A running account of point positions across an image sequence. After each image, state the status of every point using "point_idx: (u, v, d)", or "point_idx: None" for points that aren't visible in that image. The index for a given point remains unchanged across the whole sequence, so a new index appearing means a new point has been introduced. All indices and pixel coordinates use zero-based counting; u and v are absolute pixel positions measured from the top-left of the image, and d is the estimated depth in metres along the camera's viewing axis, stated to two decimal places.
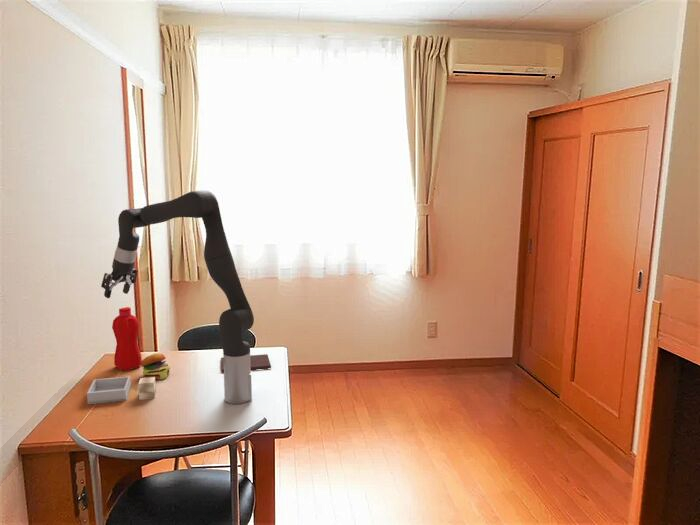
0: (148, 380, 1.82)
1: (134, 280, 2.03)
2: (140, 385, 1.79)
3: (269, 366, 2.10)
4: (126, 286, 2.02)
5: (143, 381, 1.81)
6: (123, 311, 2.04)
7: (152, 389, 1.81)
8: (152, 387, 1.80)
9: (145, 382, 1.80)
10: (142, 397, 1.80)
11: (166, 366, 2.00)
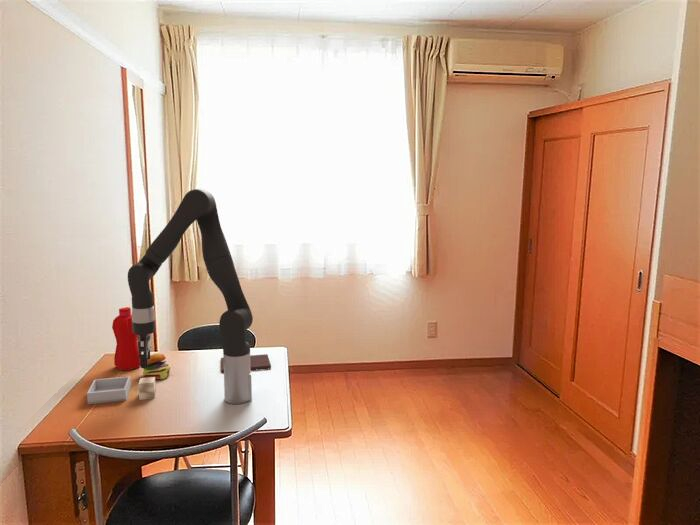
0: (148, 380, 1.82)
1: None
2: (140, 385, 1.79)
3: (269, 366, 2.09)
4: (147, 351, 1.84)
5: (143, 381, 1.81)
6: (123, 311, 2.04)
7: (152, 389, 1.81)
8: (152, 387, 1.80)
9: (145, 382, 1.80)
10: (142, 397, 1.80)
11: (166, 366, 2.00)
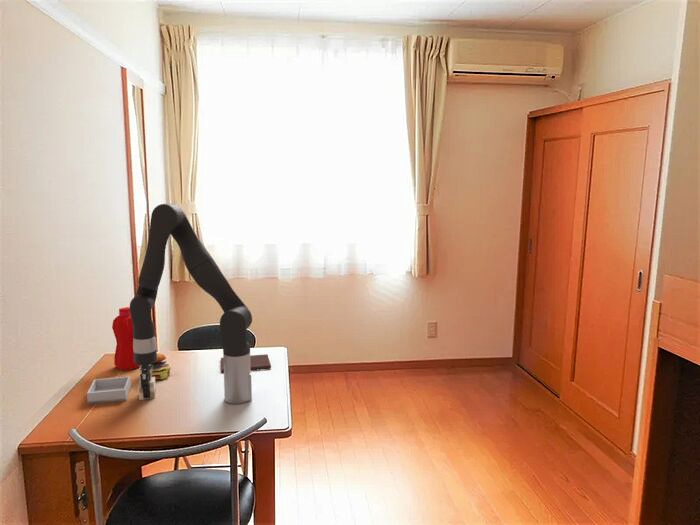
0: None
1: None
2: (140, 385, 1.79)
3: (269, 366, 2.09)
4: None
5: None
6: (123, 311, 2.04)
7: (152, 389, 1.81)
8: (152, 387, 1.80)
9: None
10: (142, 396, 1.80)
11: (166, 366, 2.00)
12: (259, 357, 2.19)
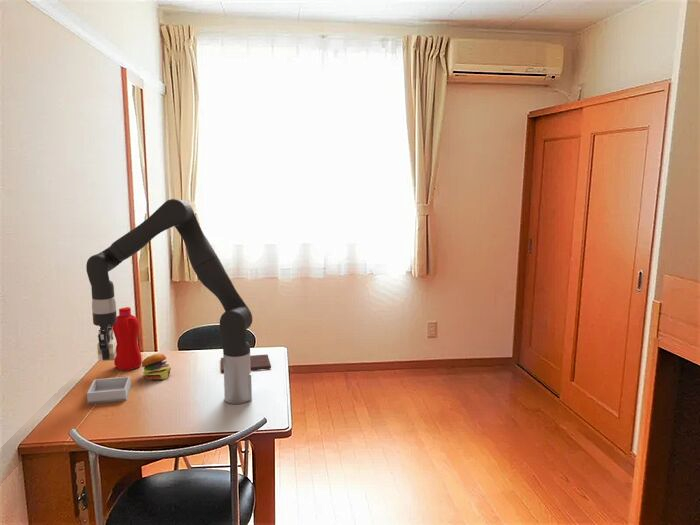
0: None
1: None
2: None
3: (269, 366, 2.09)
4: None
5: None
6: (123, 311, 2.04)
7: (111, 351, 1.78)
8: (111, 348, 1.78)
9: None
10: (101, 358, 1.78)
11: (167, 366, 2.00)
12: (259, 357, 2.19)
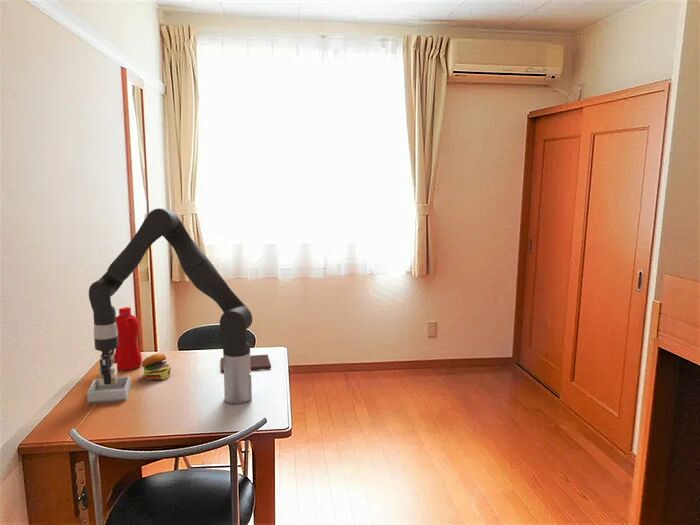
0: None
1: (114, 360, 1.86)
2: (100, 371, 1.79)
3: (269, 366, 2.09)
4: None
5: None
6: (123, 311, 2.04)
7: (113, 375, 1.80)
8: (113, 373, 1.80)
9: None
10: (103, 383, 1.80)
11: (167, 366, 2.00)
12: (259, 357, 2.19)
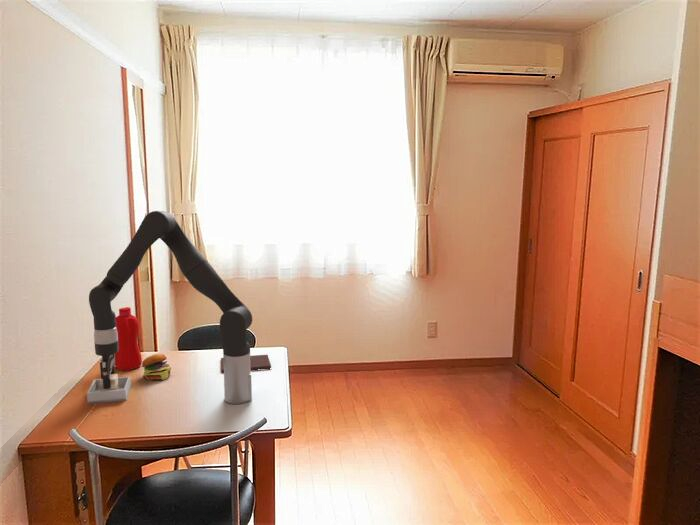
0: (110, 377, 1.82)
1: None
2: (101, 382, 1.79)
3: (269, 366, 2.09)
4: None
5: None
6: (123, 311, 2.04)
7: (114, 386, 1.81)
8: (114, 384, 1.81)
9: None
10: None
11: (167, 366, 2.00)
12: (259, 357, 2.19)
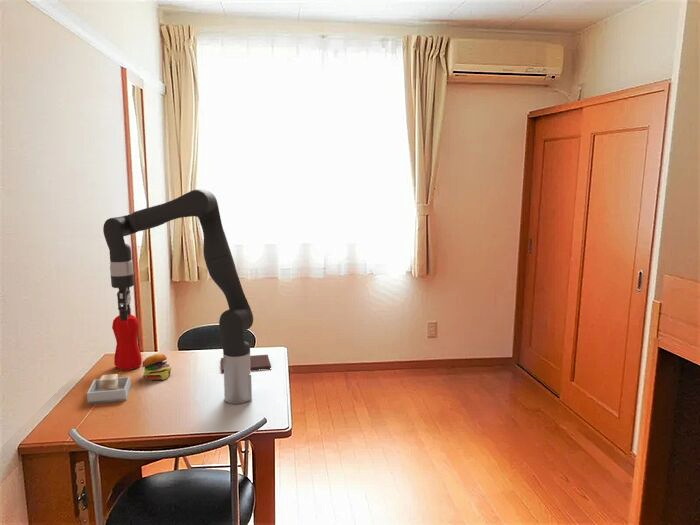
0: (110, 377, 1.82)
1: None
2: (101, 382, 1.79)
3: (269, 366, 2.09)
4: (126, 306, 1.88)
5: (105, 378, 1.81)
6: None
7: (114, 386, 1.81)
8: (114, 384, 1.81)
9: (107, 379, 1.80)
10: None
11: (167, 366, 1.99)
12: (259, 357, 2.19)
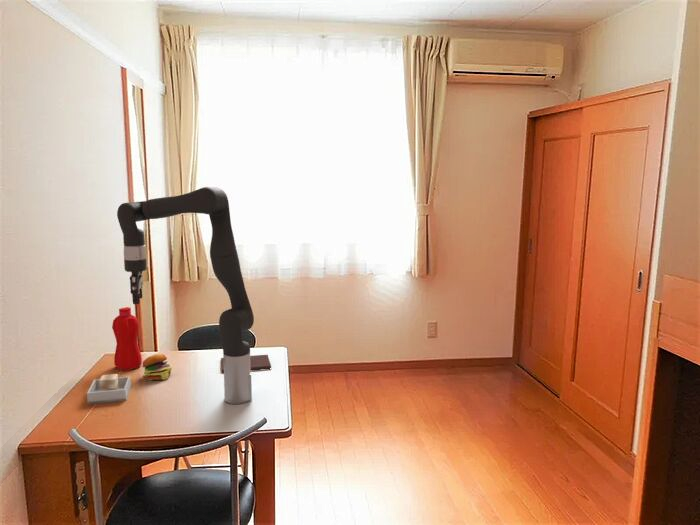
0: (110, 377, 1.82)
1: None
2: (101, 382, 1.79)
3: (269, 366, 2.09)
4: (139, 290, 1.91)
5: (105, 378, 1.81)
6: (123, 311, 2.04)
7: (114, 386, 1.81)
8: (114, 384, 1.81)
9: (107, 379, 1.80)
10: None
11: (167, 367, 1.99)
12: (259, 357, 2.19)
